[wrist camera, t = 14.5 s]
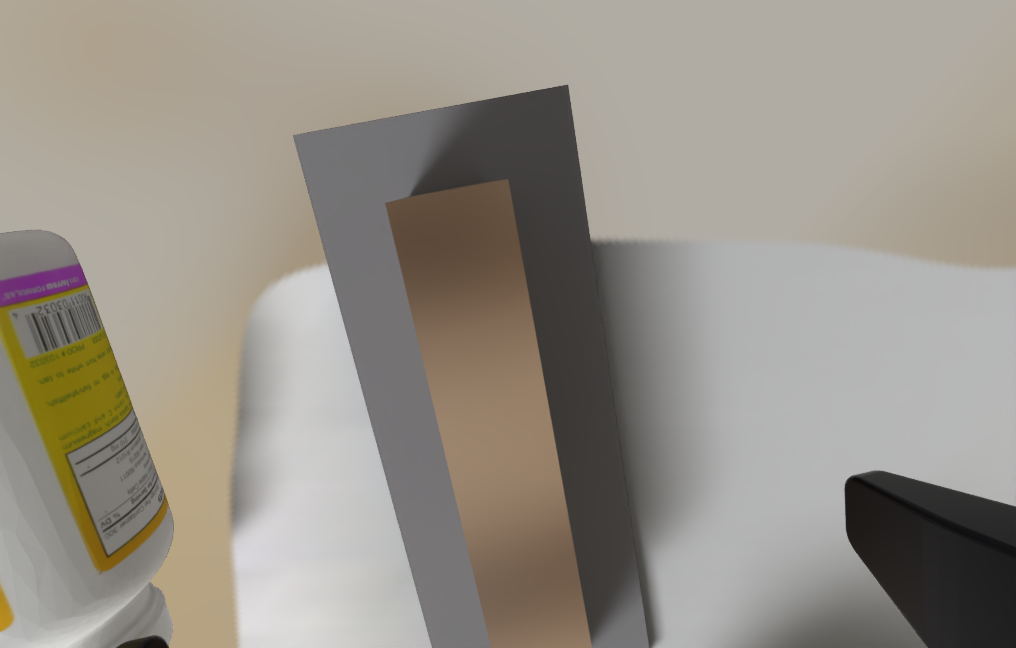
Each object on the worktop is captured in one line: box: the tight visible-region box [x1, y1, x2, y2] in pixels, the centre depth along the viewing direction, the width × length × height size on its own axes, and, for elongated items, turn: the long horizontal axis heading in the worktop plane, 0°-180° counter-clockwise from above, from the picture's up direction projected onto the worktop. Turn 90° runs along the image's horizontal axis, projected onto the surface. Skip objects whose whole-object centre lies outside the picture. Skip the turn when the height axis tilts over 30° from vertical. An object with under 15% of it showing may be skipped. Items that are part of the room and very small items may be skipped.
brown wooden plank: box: [385, 179, 592, 648], centre depth 16 cm, size 18×2×6 cm, turn 10°
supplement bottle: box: [0, 230, 174, 648], centre depth 15 cm, size 7×7×13 cm
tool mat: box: [293, 85, 649, 648], centre depth 19 cm, size 8×22×1 cm, turn 10°
